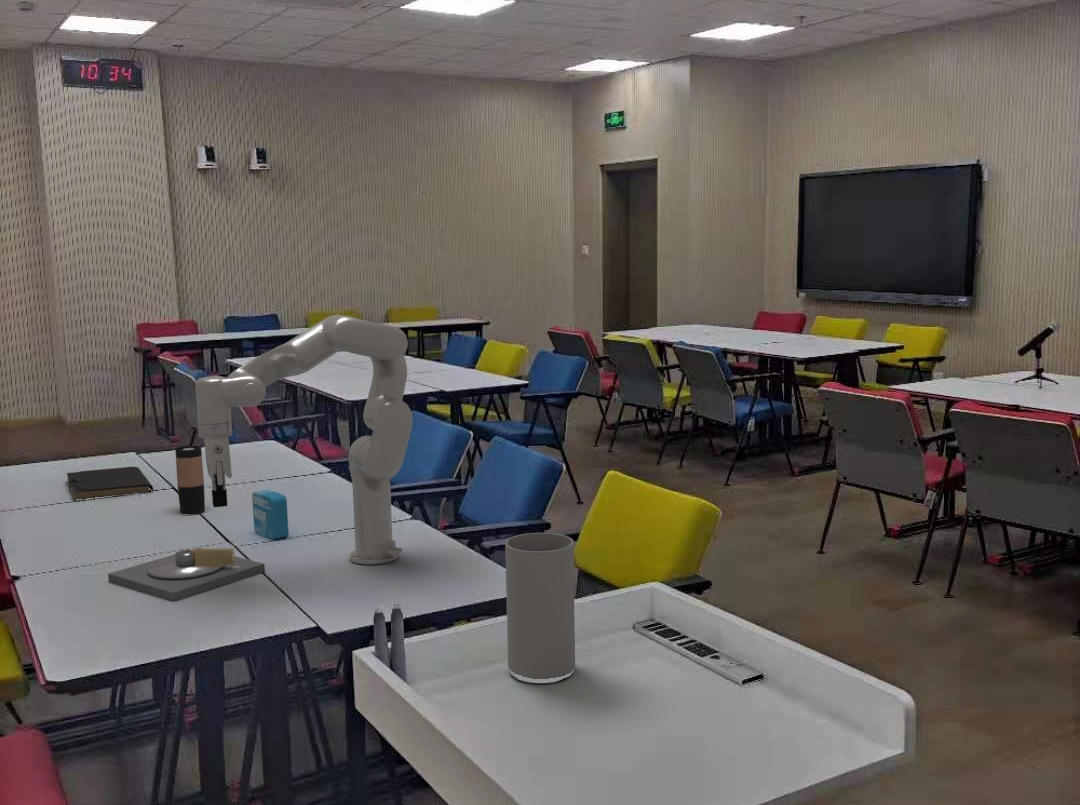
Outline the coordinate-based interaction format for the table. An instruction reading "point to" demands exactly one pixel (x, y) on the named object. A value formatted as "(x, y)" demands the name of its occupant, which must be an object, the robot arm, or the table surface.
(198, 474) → the travel mug
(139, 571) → the dial base
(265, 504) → the data package
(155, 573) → the capstan dial
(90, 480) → the dark notebook
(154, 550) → the table surface
